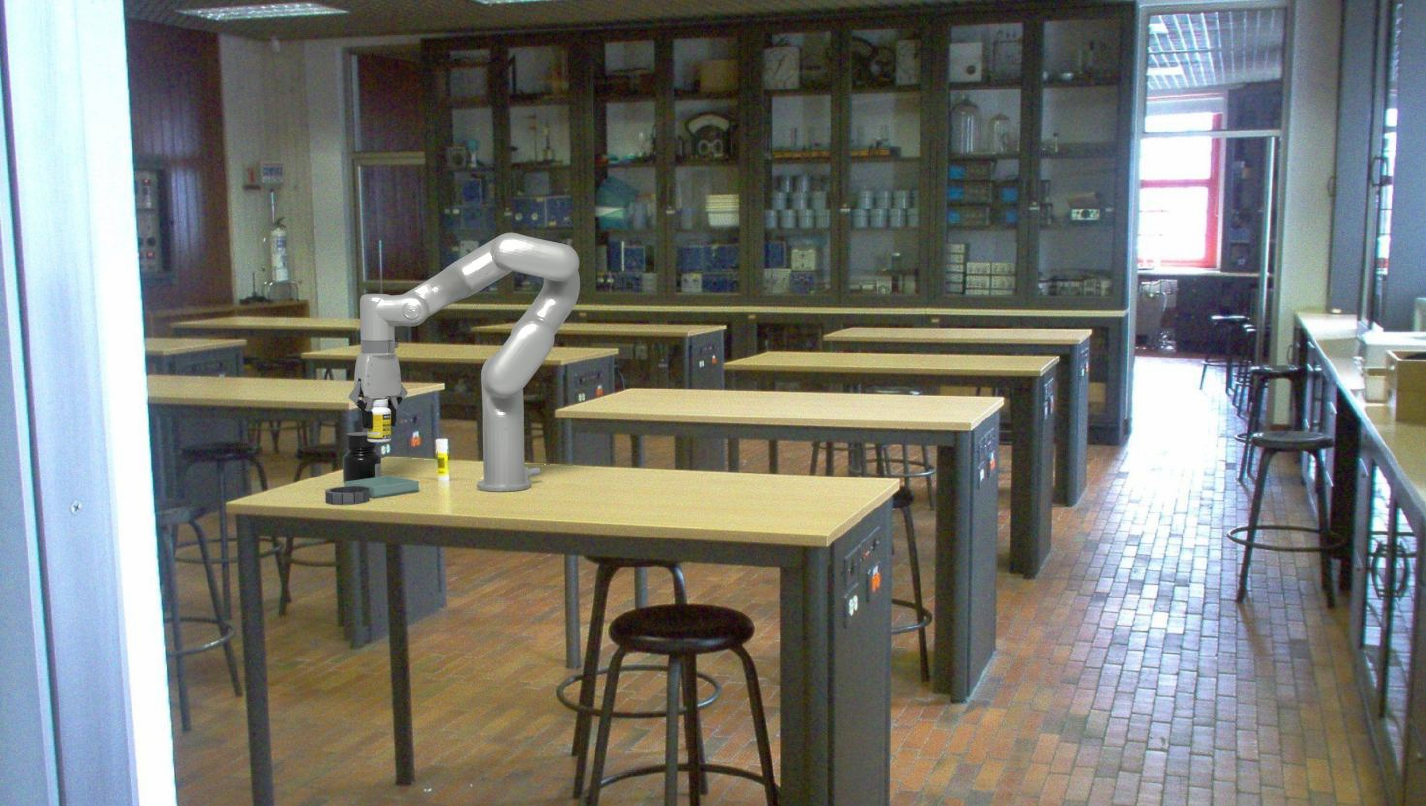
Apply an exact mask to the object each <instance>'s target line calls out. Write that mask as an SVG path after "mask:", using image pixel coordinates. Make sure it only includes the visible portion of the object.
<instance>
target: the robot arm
mask: <svg viewBox="0 0 1426 806" xmlns="http://www.w3.org/2000/svg"><path fill="white" fill-rule="evenodd" d="M579 269H580V258H579V255H578V253H577V251H576V250H575V249H574V248H573V247H572V246H571V245H568V244H564V243H562V242H561V243H560V242H555V241H550V240H545V239H542V238H536V237H531V236H528V235H523V234H521V233H516V232H505V233H502V234H500V235H498V236H497V237H495V238H493V239H491V240H490V241H487V242H486V243H484V244H483V245H481V246H480V247H478V248H476V249H474V250H473V251H471V252H470V253H468V254H466V255H464V256H463V257H461V258H459V259H457V260H456V261H454V262H453V263H451V264H450V265H448V266H447V267H445V268H444V269H443V270H442V271H440V272H439V273H437V274H436V275H434V276H432V277H431V278H429V279H427V280H425V281H424V282H422V283H420V284H419V285H417V286H415V287H414V288H412V289H410V290H408V291H407V292H405V293H403V294H395V295H390V294H385V293H367V294H363V295H361V297H360V299H359V321H360V322H359V323H360V324H359V325H360V331H359V332H360V354H357V356H356V360H355V361H356V362H355V365H354V366H355V368H354V379H353V389H352V391H351V392H350V393H349V395H348V399H349V400H350V401H351V402H353V403H354V405H356V406H357V408H358V409H359V411H361V424H362V428H363V429H366V430H367V429H372V428H373V412H372V411H370V409H371V405H372V401H373V399H374V398H386V399H388V405H387V408H389V409H390V410H391V427H396V426H397V409H399V405H401V403H402V402H403V400H404V399H405V398H406V396H408V393H409V392H408V391H407V389H406V388H405V386H404V385H403V384H402V377H401V367H400V362H399V357H398V353H396V349H399V343H398V342H396V339H395V338H396V337H395V325H396V326H405V327H416V326H417V327H418V326H419V325H422V324H423V323H424V322H425V321H426V319H428V318H429V317H431V316H433V315H434V314H436V313H437V312H439V311H441V310H443V309H445V308H446V307H448V306H450V305H452V304H454V303H455V302H457V301H460V300H462V299H466V298H468V297H470V296H471V297H472V296H473V295H475V294H477V293H478V292H480V291H482V290H483V289H486V287H488V286H490V285H491V284H493V283H496V281H498V280H500V279H502V278H503V277H505V276H507V275H509V274H510V273H512V272H516V273H521V274H524V275H529V276H534V277H539V278H544V280H543V285H542V288H541V290H540V292H539V293H538V295H537V296H536V297H535V298H534V301H533V302H532V304H530V306H529V307H528V309H527V310H526V311H525V312H524V313H523V315H522V316H521V318H520V319H519V320H518V321H517V322H516V323H515V324H514V325H513V327H512V329H511V331H510V332H511V333H510V336H509V337H508V338H507V340H506V341H505V342H504V343H503V345H502V347H501V348H500V349H499V350H498V352H497V353H495V354H492V355H491V356H489V357H488V358H487V359H486V360H485V361H484V363H483V366H482V369H481V372H480V382H481V384H480V385H481V400H482V401H481V403H482V457H483V458H482V460H483V462H482V463H483V480H480V481H478V482H477V483H476V487H477V488H476V489H479V490H480V491H481V490H482V491H487V492H515V491H516V492H517V491H521V490H527V489H530V488H531V487H532V481H531V480H529V478H531V477H536V476H540V475H541V469H540V468H539V467H538V466H537V467H531V468H529V467H528V466H525V427H524V425H525V423H524V422H525V417H524V415H525V414H524V413H525V411H524V408H525V407H524V388H525V387H526V385H528V383H529V381H530V380H531V379H532V377H534V375H535V374H536V372H537V371H538V369H539V368H540V367H541V366H542V364H543V363H544V361H546V359H547V358H548V356H549V355H550V353H551V351H552V350H553V348H554V345H555V344H554V343H555V335H556V334H557V333H558V331H559V330H560V328H561V326H563V324H564V322H565V320H566V319H567V318H568V317H569V316H570V314H571V312H572V311H573V310H574V307H575V306H576V303H577V301H578V298H579V295H580V290H581V289H580V287H581V282H580V280H581V278H580V273H579Z"/></svg>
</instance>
